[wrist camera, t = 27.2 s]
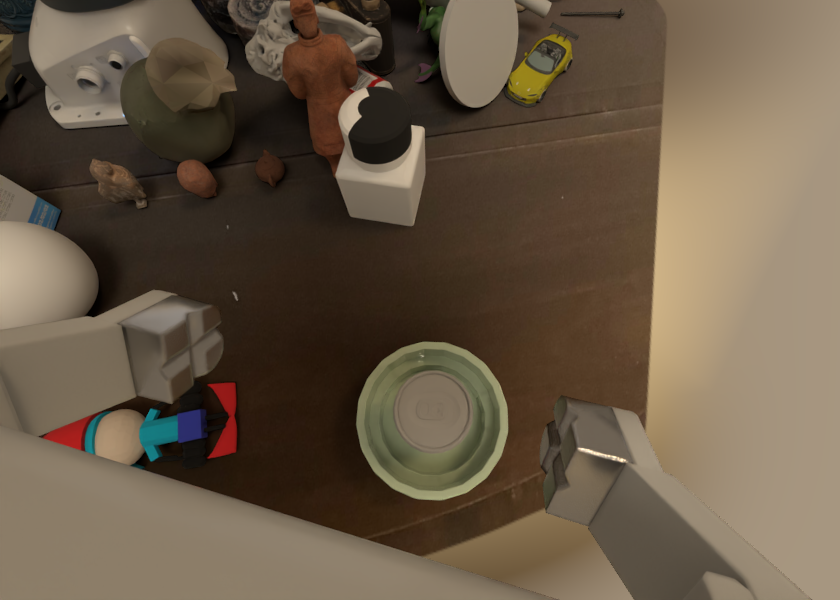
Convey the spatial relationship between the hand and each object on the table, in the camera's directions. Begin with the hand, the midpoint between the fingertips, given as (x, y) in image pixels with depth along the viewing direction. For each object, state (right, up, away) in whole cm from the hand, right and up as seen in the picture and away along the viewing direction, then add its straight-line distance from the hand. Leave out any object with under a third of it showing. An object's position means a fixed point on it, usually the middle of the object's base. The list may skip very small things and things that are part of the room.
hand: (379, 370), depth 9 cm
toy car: (+16, +29, +38) cm, 51 cm away
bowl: (+2, -9, +25) cm, 27 cm away
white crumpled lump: (-14, +25, +25) cm, 38 cm away
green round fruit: (-27, +19, +27) cm, 43 cm away
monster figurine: (+8, +29, +32) cm, 44 cm away
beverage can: (+2, -9, +25) cm, 26 cm away
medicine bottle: (-3, +13, +34) cm, 36 cm away
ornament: (-34, +1, +30) cm, 45 cm away
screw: (+24, +39, +41) cm, 62 cm away
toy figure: (-23, -11, +25) cm, 36 cm away
